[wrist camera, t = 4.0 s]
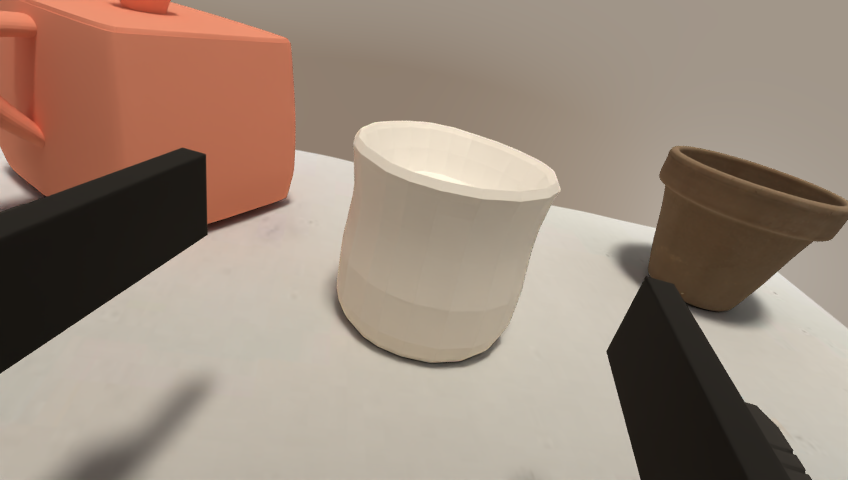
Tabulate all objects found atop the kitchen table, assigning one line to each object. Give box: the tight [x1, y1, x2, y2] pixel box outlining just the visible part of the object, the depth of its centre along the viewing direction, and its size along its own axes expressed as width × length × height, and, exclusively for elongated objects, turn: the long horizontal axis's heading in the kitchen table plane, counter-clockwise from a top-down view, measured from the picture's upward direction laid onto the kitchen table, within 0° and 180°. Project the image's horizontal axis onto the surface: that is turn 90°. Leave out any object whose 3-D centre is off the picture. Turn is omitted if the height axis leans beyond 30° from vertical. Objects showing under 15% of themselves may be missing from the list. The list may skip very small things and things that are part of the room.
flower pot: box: [648, 146, 848, 311], centre depth 34 cm, size 12×11×10 cm
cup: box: [336, 121, 561, 363], centre depth 24 cm, size 10×10×10 cm
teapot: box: [0, 0, 295, 224], centre depth 30 cm, size 20×22×14 cm
